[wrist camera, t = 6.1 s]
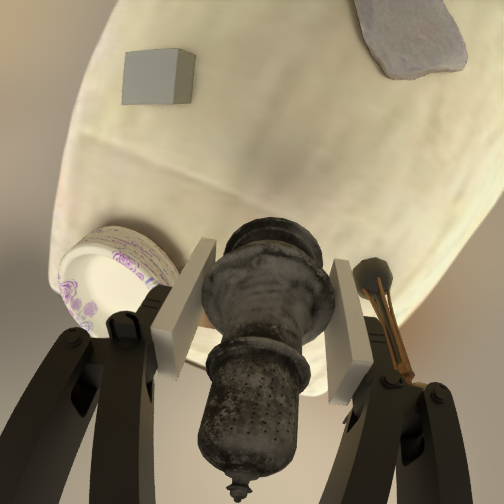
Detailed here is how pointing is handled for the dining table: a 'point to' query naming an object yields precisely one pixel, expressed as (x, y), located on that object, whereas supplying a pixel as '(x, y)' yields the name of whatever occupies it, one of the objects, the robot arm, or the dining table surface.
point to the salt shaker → (261, 346)
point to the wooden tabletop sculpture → (384, 310)
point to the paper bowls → (111, 275)
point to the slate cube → (158, 77)
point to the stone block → (411, 37)
